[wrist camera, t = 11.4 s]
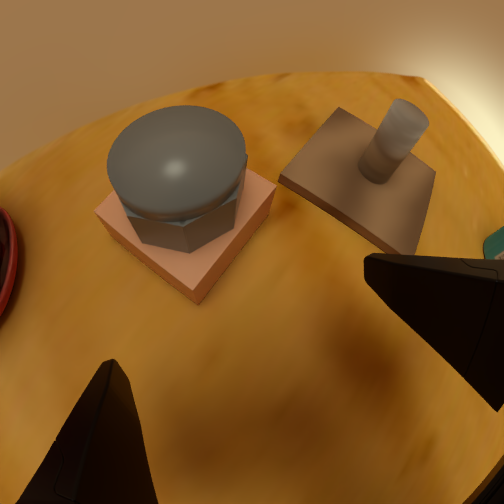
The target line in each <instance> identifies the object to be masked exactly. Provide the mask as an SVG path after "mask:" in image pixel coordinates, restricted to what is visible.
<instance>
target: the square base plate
mask: <svg viewBox="0 0 504 504" xmlns="http://www.w3.org/2000/svg"><path fill="white" fill-rule="evenodd" d="M428 126H429V121H428V119H427V117H426V116H425V114H424V113H423V112H422V111H421V110H420V109H419V108H418V107H416V106H415V105H413V104H412V103H410V102H408V101H406V100H403V99H395V100H394V101H393V103H392V105H391V107H390V109H389V110H388V112H387V114H386V116H385V117H384V119H383V121H382V123H381V124H380V126H379V128H378V130H377V129H375V128H374V127H372V126H370V125H369V124H367V123H366V122H364V121H362V120H361V119H359V118H357V117H356V116H354V115H352V114H350V113H349V112H347V111H345V110H343V109H342V108H340V107H338V108H337V109H336V110H335V111H334V113H333V114H332V115H331V116H330V117H329V118H328V119H327V120H326V121H325V123H324V124H323V125H322V126H321V127H320V128H319V129H318V131H317V132H316V133H315V134H314V135H313V136H312V137H311V139H310V140H309V141H308V142H307V143H306V144H305V145H304V147H303V148H302V149H301V150H300V151H299V152H298V153H297V155H296V156H295V157H294V158H293V159H292V160H291V162H290V163H289V164H288V165H287V166H286V167H285V169H284V170H283V171H282V172H281V173H280V176H279V179H278V182H280V183H281V184H283V185H285V186H286V187H288V188H290V189H291V190H293V191H294V192H296V193H298V194H299V195H301V196H302V197H304V198H306V199H307V200H309V201H310V202H312V203H314V204H315V205H317V206H318V207H320V208H321V209H323V210H324V211H326V212H328V213H329V214H331V215H332V216H334V217H335V218H337V219H338V220H340V221H341V222H343V223H344V224H346V225H347V226H349V227H350V228H351V229H353V230H354V231H356V232H357V233H359V234H360V235H362V236H363V237H365V238H366V239H367V240H369V241H370V242H372V243H373V244H374V245H376V246H377V247H379V248H380V249H381V250H383V251H384V252H386V253H387V254H401V255H414V254H415V251H416V248H417V245H418V242H419V238H420V235H421V232H422V228H423V225H424V221H425V217H426V213H427V209H428V205H429V201H430V197H431V193H432V188H433V184H434V179H435V174H436V172H435V171H434V170H433V169H432V168H430V167H429V166H428V165H427V164H425V163H424V162H423V161H421V160H420V159H419V158H417V157H416V156H415V155H413V154H412V153H411V152H410V151H411V149H412V148H413V147H414V145H415V144H416V143H417V141H418V140H419V138H420V137H421V136H422V134H423V133H424V132H425V130H426V129H427V127H428Z"/></svg>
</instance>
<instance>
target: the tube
mask: <svg viewBox="0 0 504 504" xmlns="http://www.w3.org/2000/svg"><path fill="white" fill-rule="evenodd" d="M484 255H485V259H504V226H503V227H502V228H500V229H499V230H497V231H496V232H494V233H493V234H492V235H490V236H489V237H487V238H486V240H485V242H484Z"/></svg>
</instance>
